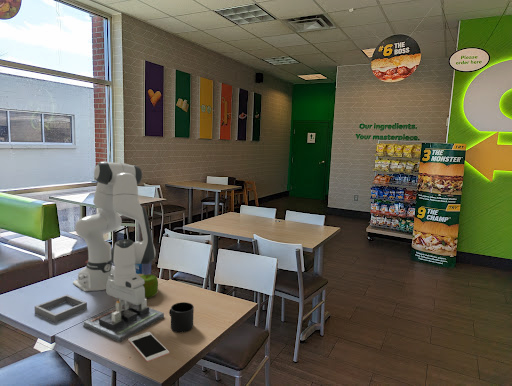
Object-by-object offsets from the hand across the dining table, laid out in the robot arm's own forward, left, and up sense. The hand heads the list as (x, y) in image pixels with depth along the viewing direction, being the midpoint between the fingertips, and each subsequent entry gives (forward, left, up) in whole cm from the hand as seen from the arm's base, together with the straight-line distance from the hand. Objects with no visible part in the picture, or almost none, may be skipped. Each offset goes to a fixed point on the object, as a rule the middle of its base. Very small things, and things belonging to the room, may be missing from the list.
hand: (124, 308), depth 151 cm
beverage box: (-27, +33, -6) cm, 43 cm away
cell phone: (+22, -8, -6) cm, 24 cm away
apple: (-12, +24, -6) cm, 27 cm away
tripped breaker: (-3, 0, -2) cm, 3 cm away
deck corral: (-31, -9, -6) cm, 33 cm away
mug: (+22, +10, -6) cm, 25 cm away
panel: (0, 0, -6) cm, 6 cm away
